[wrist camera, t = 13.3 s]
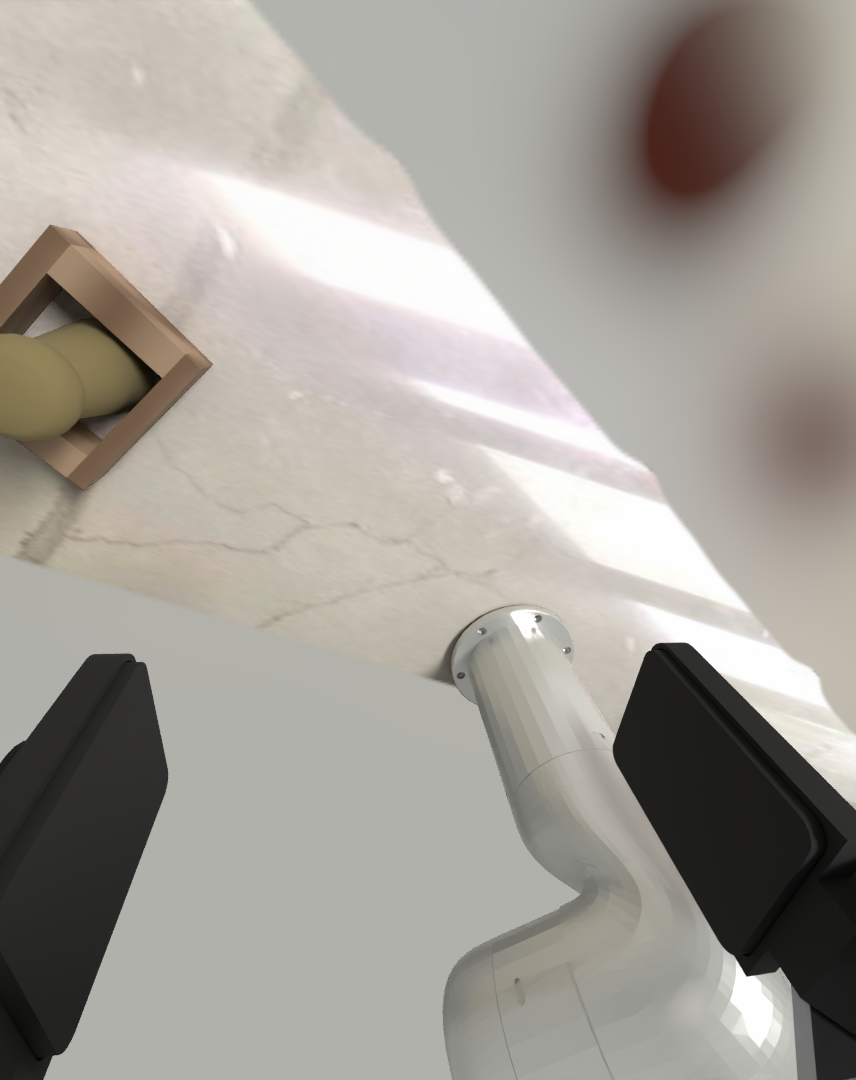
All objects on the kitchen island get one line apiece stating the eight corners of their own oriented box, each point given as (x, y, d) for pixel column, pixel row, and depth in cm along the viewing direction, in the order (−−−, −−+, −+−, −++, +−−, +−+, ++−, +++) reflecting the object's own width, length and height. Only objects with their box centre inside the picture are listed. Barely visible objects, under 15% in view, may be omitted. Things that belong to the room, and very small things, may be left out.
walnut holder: (213, 364, 33) (201, 369, 31) (103, 475, 36) (83, 489, 33) (77, 231, 29) (50, 224, 26) (-38, 367, 31) (-74, 374, 29)
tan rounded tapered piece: (63, 407, 33) (-56, 451, 23) (45, 312, 31) (-98, 316, 21) (158, 416, 34) (82, 461, 25) (148, 324, 32) (58, 334, 22)
